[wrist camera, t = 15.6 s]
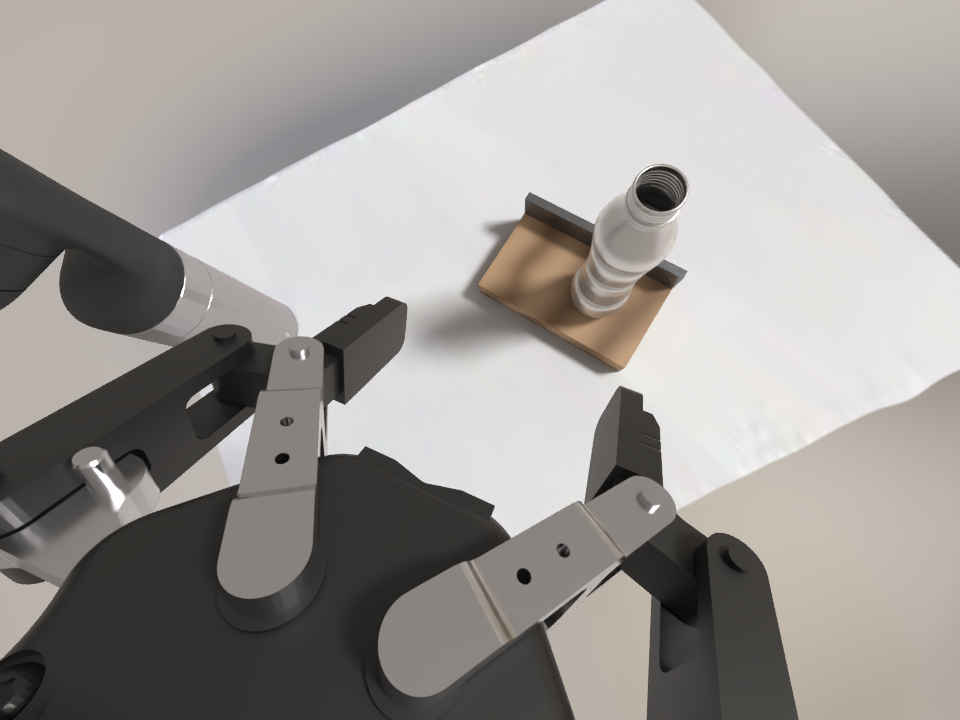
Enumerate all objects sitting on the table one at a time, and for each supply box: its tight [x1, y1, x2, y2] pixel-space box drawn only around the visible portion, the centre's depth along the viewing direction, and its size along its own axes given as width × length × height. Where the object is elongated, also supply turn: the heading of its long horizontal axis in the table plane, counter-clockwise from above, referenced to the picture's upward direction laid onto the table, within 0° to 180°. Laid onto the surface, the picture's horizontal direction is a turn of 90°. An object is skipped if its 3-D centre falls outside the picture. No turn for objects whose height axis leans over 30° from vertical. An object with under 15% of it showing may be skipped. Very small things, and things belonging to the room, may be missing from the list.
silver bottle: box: [571, 164, 689, 318], centre depth 34 cm, size 6×7×20 cm
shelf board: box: [478, 214, 672, 371], centre depth 46 cm, size 20×12×2 cm, turn 57°
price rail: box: [525, 192, 687, 289], centre depth 44 cm, size 20×2×3 cm, turn 57°
